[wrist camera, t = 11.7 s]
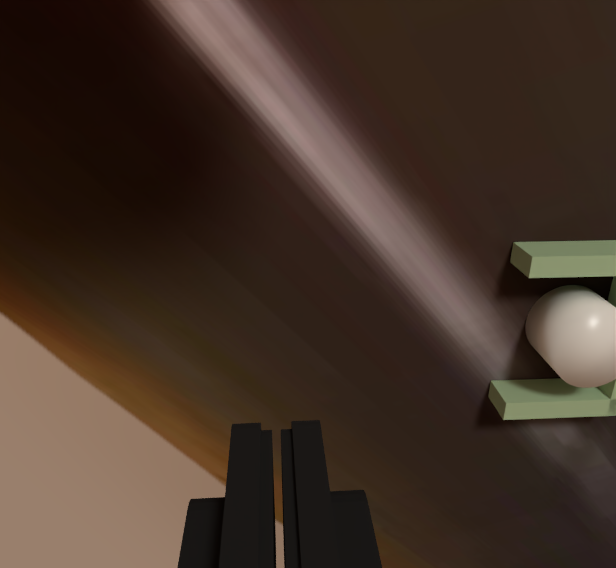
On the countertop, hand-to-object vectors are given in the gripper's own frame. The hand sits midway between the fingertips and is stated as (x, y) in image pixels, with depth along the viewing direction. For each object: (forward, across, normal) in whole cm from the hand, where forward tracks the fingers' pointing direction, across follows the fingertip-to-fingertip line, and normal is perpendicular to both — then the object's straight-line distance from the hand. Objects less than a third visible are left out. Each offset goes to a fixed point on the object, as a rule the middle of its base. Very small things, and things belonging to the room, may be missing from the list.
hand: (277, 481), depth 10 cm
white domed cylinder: (+27, -22, +11) cm, 36 cm away
